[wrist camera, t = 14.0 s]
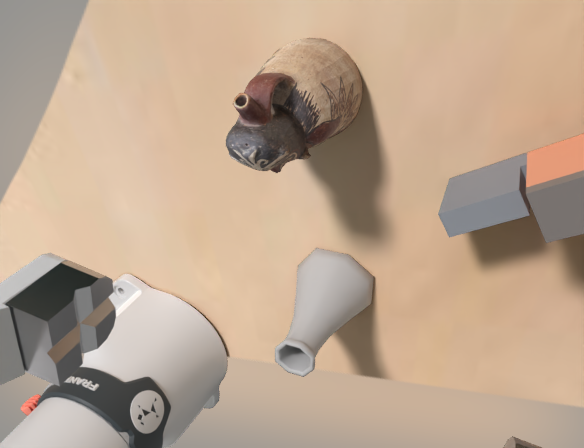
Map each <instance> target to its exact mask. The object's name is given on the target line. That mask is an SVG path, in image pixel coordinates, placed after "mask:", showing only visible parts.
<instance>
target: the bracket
mask: <svg viewBox="0 0 584 448" xmlns="http://www.w3.org/2000/svg"><path fill="white" fill-rule="evenodd" d="M526 174H527V153H525V154H522V155H519V156H516V157H513V158H510V159H507V160H504V161H501V162H498V163H495V164H492V165H489V166H486V167H483V168H480V169H477V170H474V171H471V172H468V173H465V174H462V175H459V176H456V177H453V178H450V179H449V182H448V185H447V188H446V191H445V194H444V198H443V201H442V204H441V207H440V210H439V213H438V215H439V217H440V219H441V221H442V223H443V225H444V227H445V229H446V231H447V234H448V236H449V237H452V236H456V235H460V234H463V233H467V232H471V231H474V230H478V229H482V228H485V227H489V226H493V225H496V224H500V223H504V222H507V221H511V220H515V219H518V218H522V217H526V216H529V215H530V203H529V200H528V198H527V196H526Z"/></svg>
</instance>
